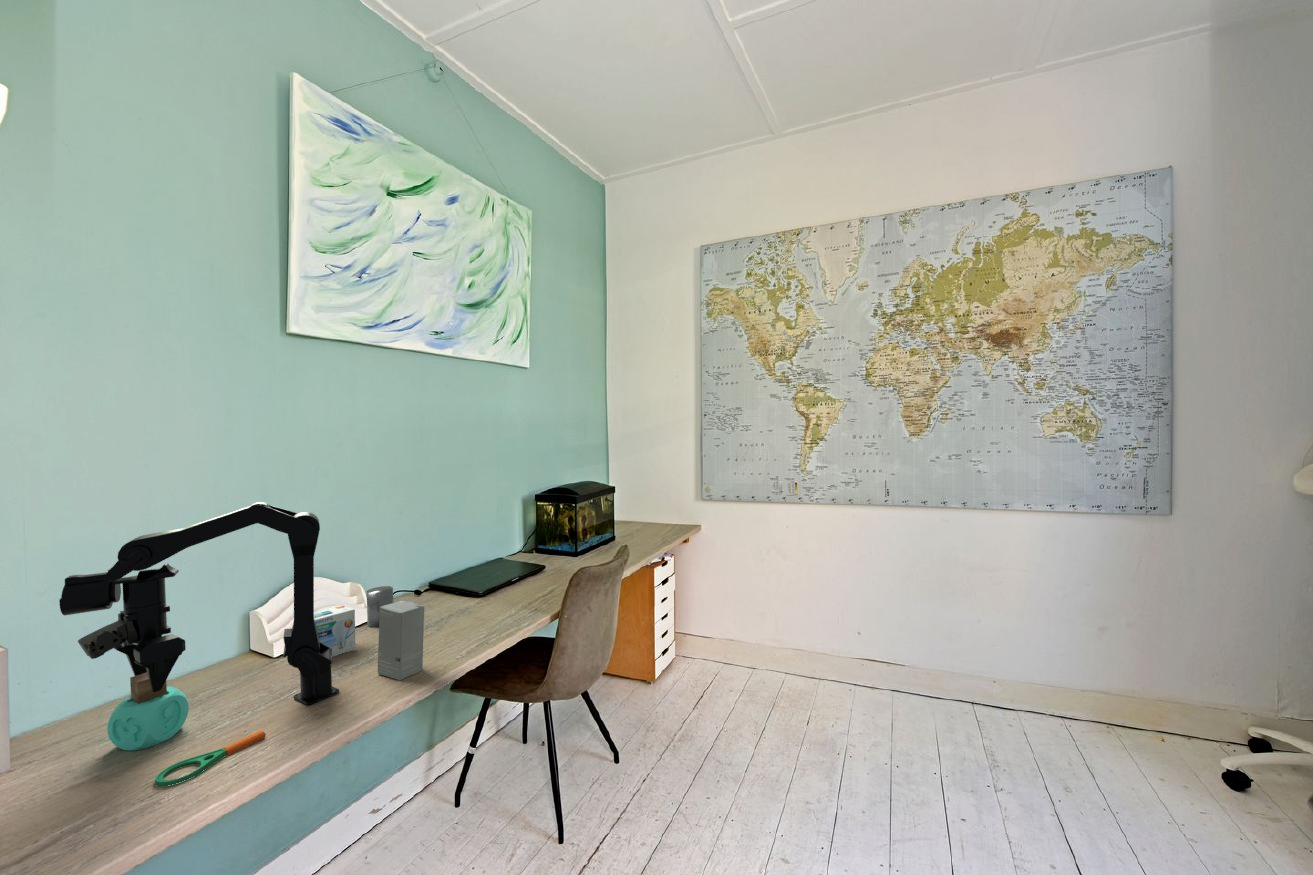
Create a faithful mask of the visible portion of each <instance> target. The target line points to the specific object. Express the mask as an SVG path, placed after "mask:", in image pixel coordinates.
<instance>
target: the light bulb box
mask: <svg viewBox="0 0 1313 875" xmlns="http://www.w3.org/2000/svg"><path fill="white" fill-rule="evenodd" d="M355 611H356V610H355V609H354V608H352V607H350V606H348V605H346V604H343V605H338V606H334V607H331V608H330V607H329V608H326V609H323V610H319V611H314V620H315V623H316V627H317V632H318V636H319V642H321V643H322V644H324V645H326V646H328V647H329V648H330V649H331V658H332V657H336V656H339V654H340V655H342V653H343V654H346V653H348V652H352V651H355V650H356V618H355V617H356V612H355ZM345 652H346V653H345Z"/></svg>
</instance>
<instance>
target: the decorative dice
mask: <svg viewBox="0 0 1313 875" xmlns="http://www.w3.org/2000/svg"><path fill="white" fill-rule="evenodd" d="M188 714H189V701H188V697H187V696H186V695H185V694H184V692H182V691H181V690H180V689H178V688H176V687H175V686H167V695H164V696H161V697H158V698H155V699H152V700H149V701H146V702H143V703H140V704H137V703H136V702H135V701H133V700H132V699H131V695H130V696H128V697H126V698H124V699H123V700H121V701H120V703H119V704H118V705H117V706H116V707H115V708H114V710H112V713H111V714H110V717H109V719H108V721H107V722H108V723H107V730H106V731H107V735H108V738H109V740H110V742H111V743H112V744H113V745H114V747H117V748H118V749H121V750H123V751H127V752H128V751H129V752H132V751H137V750H138V751H139V750H143V749H144V750H145V749H147V748H150V747H151V748H152V747H153V746H156V745H159V744H162V743H163V742H165V741H167V740H169V739H171V738H172V737H174V736H175V735H176V734H177V733H178V732H179V730H181V729H182V727H183V726H184V724H185V723H186V720H187V718H188Z"/></svg>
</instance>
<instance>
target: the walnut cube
mask: <svg viewBox="0 0 1313 875" xmlns="http://www.w3.org/2000/svg"><path fill="white" fill-rule="evenodd" d="M129 681H130V696H131V699H132V700H133V701H135V702H136V703H137V704H140V703H143V702H146V701H149V700H152V699H155V698H158V697H161V696H164V695H167V687H168V686H167V681H166V682H165V684H164V686H163V688H162V689H161V690H160V691H157V692H153V691H152V688H151V685H150V681H149V677H148V674H147V673H143V674H140V675H137V676H131V677H130V678H129Z"/></svg>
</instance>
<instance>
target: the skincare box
mask: <svg viewBox="0 0 1313 875" xmlns="http://www.w3.org/2000/svg"><path fill="white" fill-rule="evenodd" d="M424 626H425V605H422V604H418V603H416V602H411V601H406V600H399V601H396V602H393V603H392V604H388V605H384V606H382V607H380V618H379V627H378V645H377V646H378V648H377V649H378V652H377V675H382V676H384V677H388V678H391V679H395V680H397V681H402V680H404V679H406V678H408V677H410V676H413V675H415V674H417V673H419V672H421V671H423V665H424V664H423V662H424V660H423V659H424V658H423V657H424V630H425V629H424V628H425V627H424Z"/></svg>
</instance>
